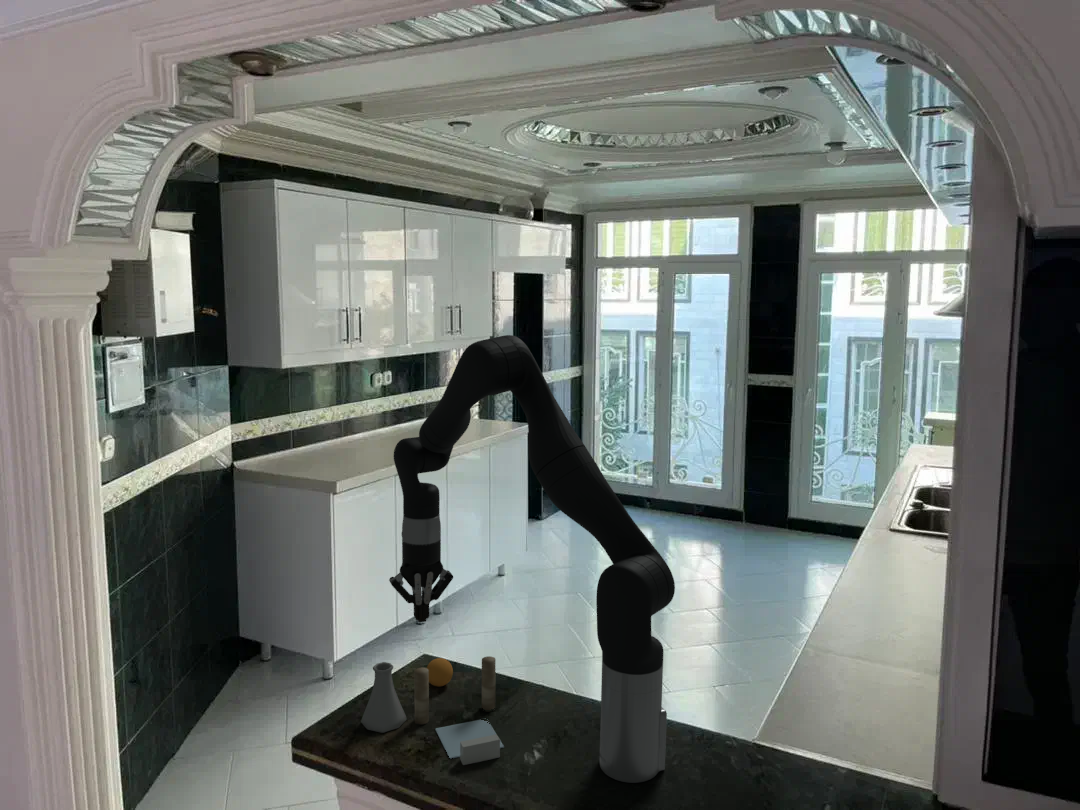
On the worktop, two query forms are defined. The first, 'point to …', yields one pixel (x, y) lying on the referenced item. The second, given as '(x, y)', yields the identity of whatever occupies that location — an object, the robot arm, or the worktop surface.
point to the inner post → (488, 683)
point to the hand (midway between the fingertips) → (421, 620)
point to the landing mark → (463, 735)
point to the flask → (383, 702)
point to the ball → (440, 672)
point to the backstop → (479, 749)
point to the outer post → (421, 695)
